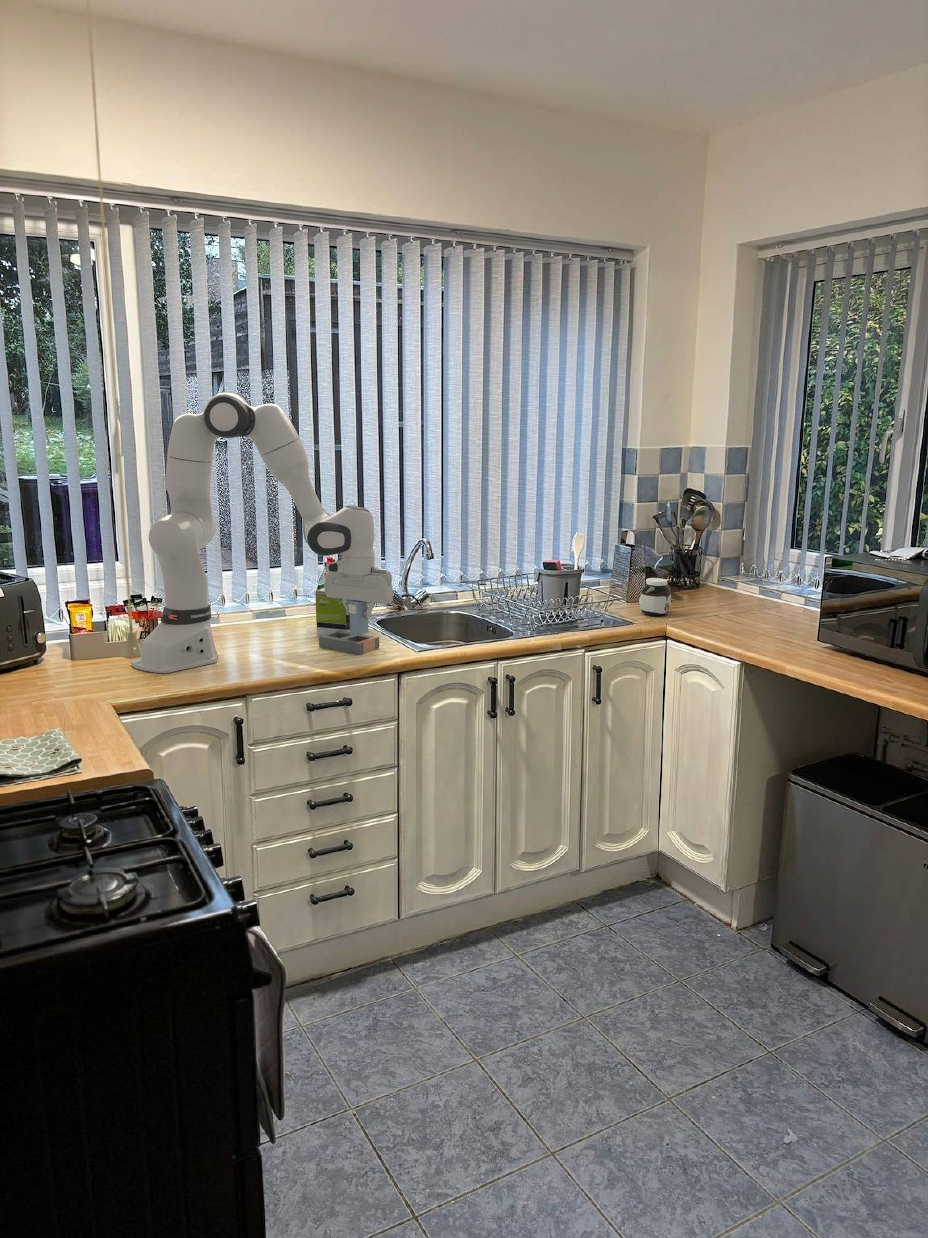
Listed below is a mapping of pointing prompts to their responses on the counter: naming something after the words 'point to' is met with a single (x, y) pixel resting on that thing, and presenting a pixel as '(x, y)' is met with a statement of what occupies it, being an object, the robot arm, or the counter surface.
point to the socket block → (349, 642)
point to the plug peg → (358, 617)
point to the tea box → (330, 614)
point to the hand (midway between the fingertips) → (358, 616)
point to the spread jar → (655, 597)
